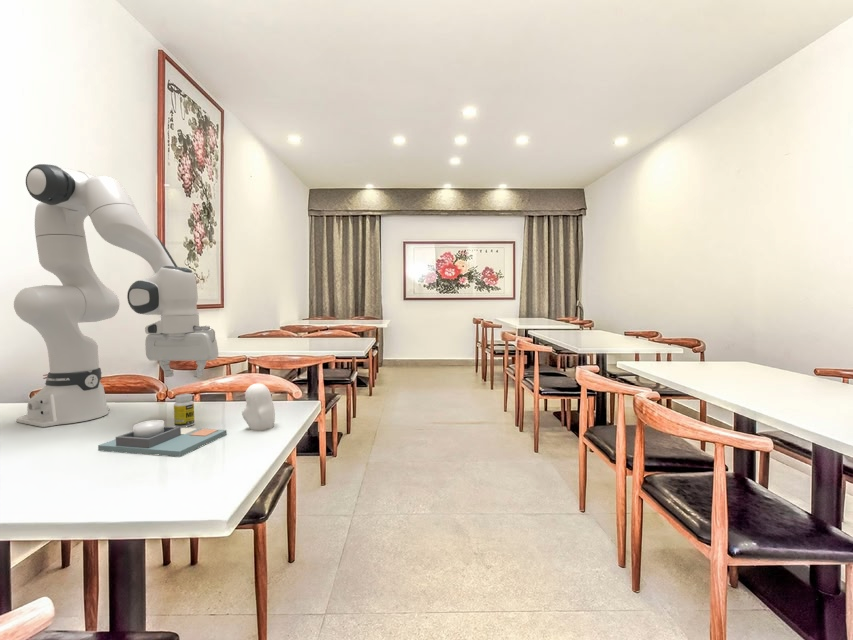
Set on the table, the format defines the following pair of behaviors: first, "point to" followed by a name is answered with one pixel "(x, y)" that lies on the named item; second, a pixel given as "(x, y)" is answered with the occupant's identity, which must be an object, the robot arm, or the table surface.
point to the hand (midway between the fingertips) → (183, 376)
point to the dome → (148, 428)
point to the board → (164, 441)
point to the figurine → (259, 408)
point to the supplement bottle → (184, 410)
